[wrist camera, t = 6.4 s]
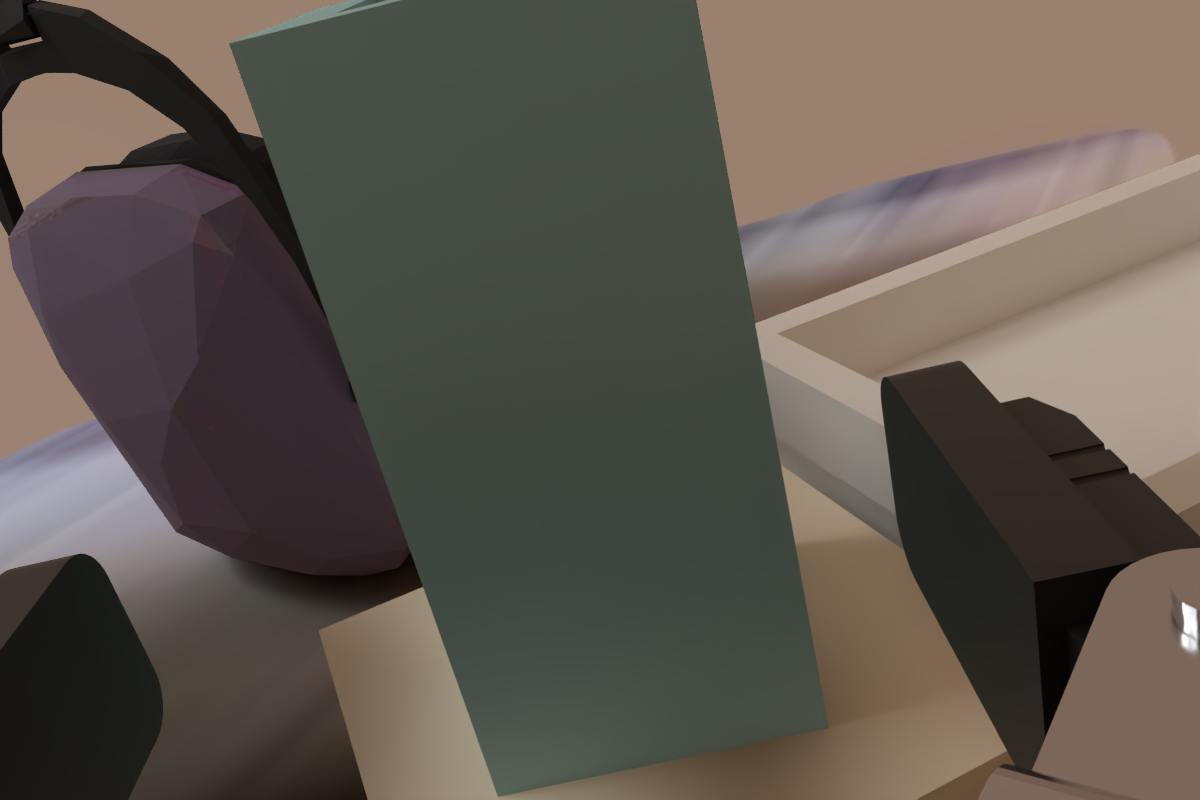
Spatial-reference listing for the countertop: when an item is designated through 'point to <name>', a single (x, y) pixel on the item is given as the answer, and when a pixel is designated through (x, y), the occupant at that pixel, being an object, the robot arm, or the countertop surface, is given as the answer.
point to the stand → (727, 777)
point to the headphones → (195, 318)
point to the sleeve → (552, 364)
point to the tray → (1012, 342)
